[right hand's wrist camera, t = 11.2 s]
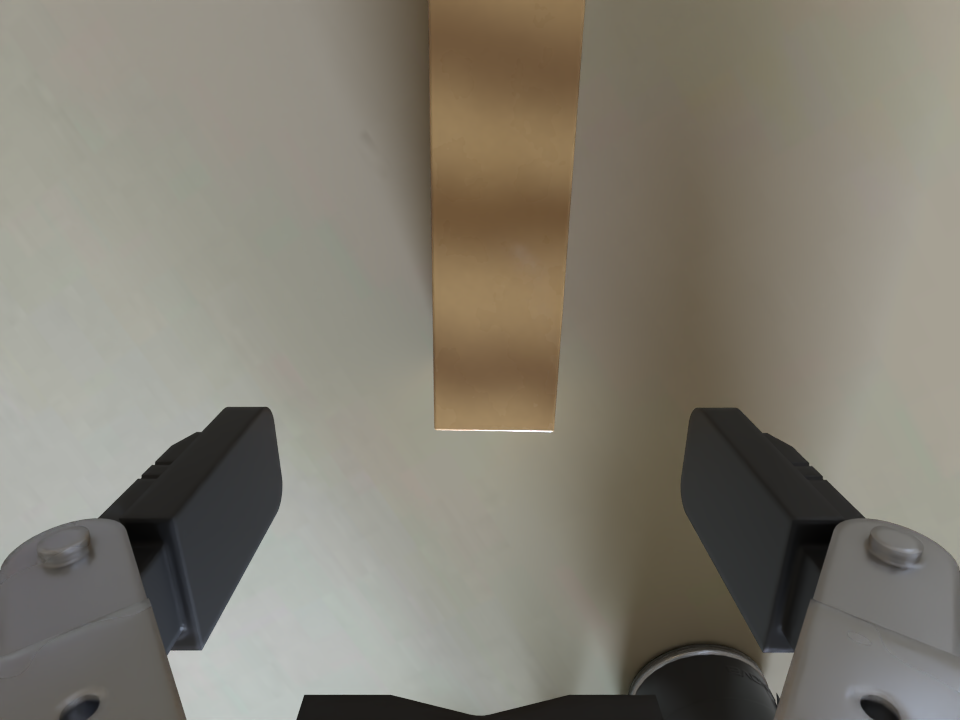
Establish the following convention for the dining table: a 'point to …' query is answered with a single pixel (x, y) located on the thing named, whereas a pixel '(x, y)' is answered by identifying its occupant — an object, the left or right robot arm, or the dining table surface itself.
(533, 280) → the bar
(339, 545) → the dining table surface
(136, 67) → the dining table surface
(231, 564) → the right robot arm
